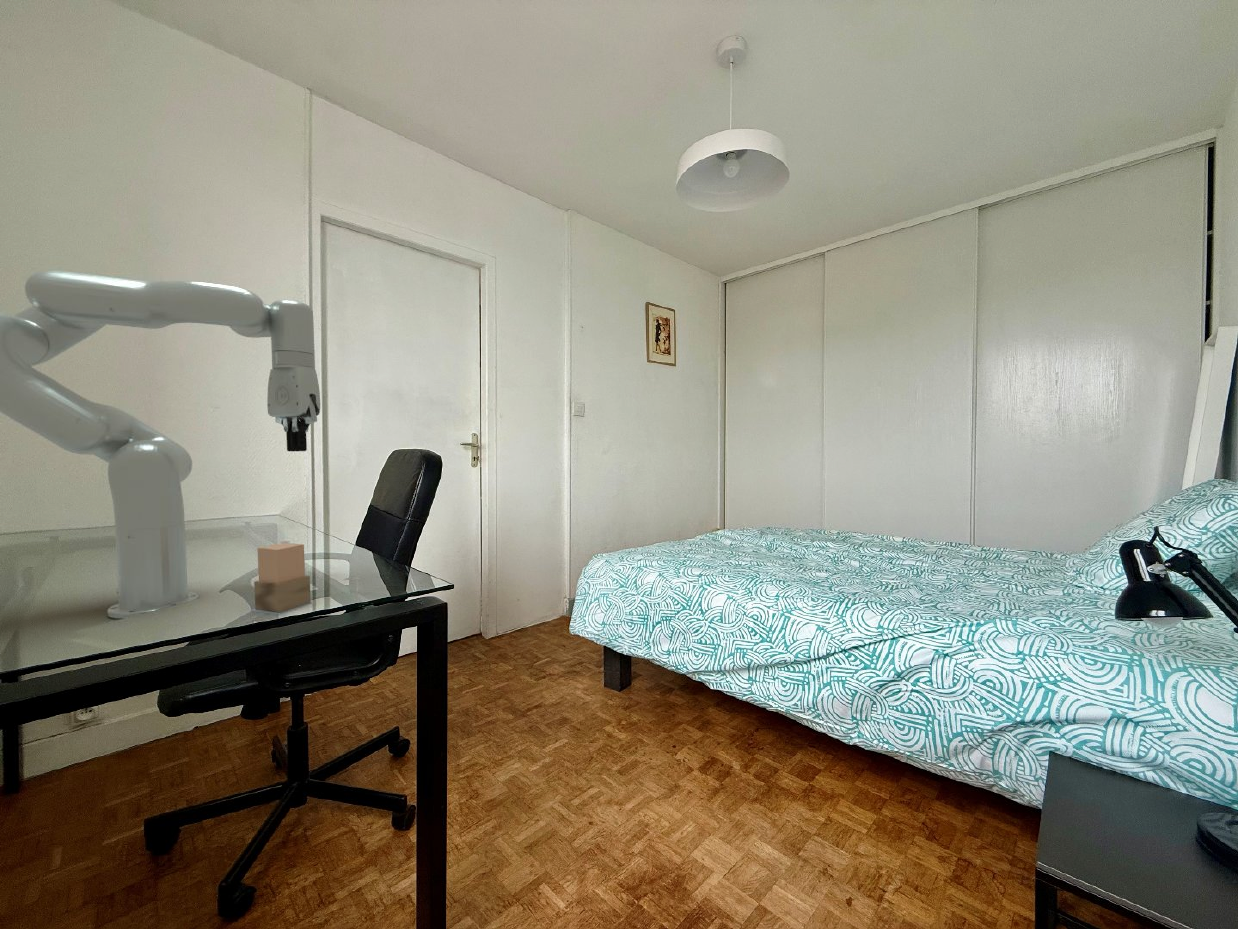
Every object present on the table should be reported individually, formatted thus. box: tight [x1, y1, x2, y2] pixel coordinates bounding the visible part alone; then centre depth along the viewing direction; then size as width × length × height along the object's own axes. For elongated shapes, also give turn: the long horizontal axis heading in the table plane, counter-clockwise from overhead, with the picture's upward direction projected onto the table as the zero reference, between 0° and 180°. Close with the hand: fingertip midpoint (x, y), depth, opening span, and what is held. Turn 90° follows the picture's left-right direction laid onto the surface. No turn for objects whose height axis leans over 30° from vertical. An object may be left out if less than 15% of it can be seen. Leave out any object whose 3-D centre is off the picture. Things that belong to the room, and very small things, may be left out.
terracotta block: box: [257, 542, 306, 584], centre depth 91 cm, size 5×5×6 cm
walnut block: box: [253, 575, 312, 613], centre depth 91 cm, size 6×6×5 cm
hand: (297, 451), depth 105 cm, fingers closed
